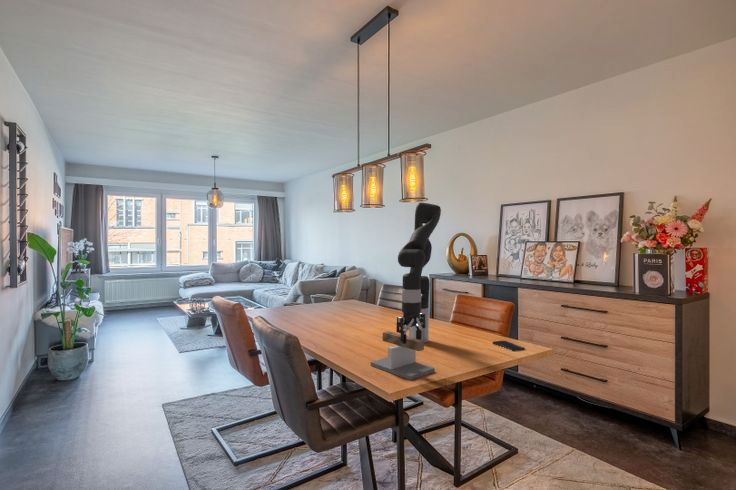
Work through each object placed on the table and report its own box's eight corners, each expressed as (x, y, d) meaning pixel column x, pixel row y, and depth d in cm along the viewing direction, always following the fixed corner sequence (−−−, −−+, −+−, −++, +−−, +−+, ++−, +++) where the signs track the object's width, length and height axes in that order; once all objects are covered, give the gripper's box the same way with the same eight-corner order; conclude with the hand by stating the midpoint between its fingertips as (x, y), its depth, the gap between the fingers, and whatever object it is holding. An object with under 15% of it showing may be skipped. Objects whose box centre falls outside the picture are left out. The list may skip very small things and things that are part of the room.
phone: (504, 340, 198) (525, 348, 184) (504, 342, 198) (525, 350, 184) (491, 341, 195) (512, 349, 181) (491, 344, 195) (512, 352, 181)
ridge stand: (370, 365, 160) (370, 342, 160) (394, 358, 169) (394, 337, 169) (410, 380, 144) (410, 354, 143) (434, 371, 153) (434, 347, 153)
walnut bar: (382, 340, 163) (382, 332, 163) (387, 339, 165) (387, 331, 165) (418, 351, 148) (418, 342, 148) (424, 349, 150) (424, 340, 150)
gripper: (416, 297, 160) (416, 336, 160) (391, 301, 150) (391, 342, 151) (430, 299, 154) (430, 340, 154) (405, 303, 145) (405, 346, 145)
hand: (411, 341), depth 153 cm, fingers open, 8 cm apart
